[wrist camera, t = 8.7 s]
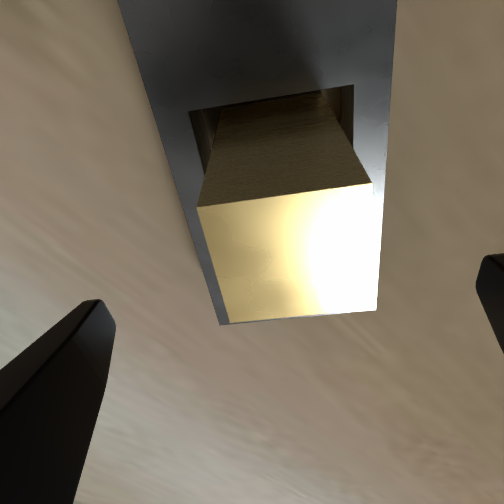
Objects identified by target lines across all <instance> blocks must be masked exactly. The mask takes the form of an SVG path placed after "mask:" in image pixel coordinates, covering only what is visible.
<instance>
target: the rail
mask: <svg viewBox="0 0 504 504" xmlns="http://www.w3.org/2000/svg"><path fill="white" fill-rule="evenodd" d="M118 3H119V6H120V9H121V12H122V16H123V19H124V22H125V25H126V28H127V31H128V35H129V38H130V41H131V44H132V47H133V51H134V54H135V57H136V60H137V63H138V66H139V70H140V73H141V76H142V79H143V82H144V86H145V89H146V92H147V95H148V98H149V102H150V105H151V108H152V111H153V114H154V117H155V121H156V124H157V127H158V130H159V133H160V137H161V140H162V143H163V146H164V149H165V152H166V156H167V159H168V162H169V165H170V168H171V172H172V175H173V178H174V181H175V184H176V188H177V191H178V194H179V197H180V200H181V203H182V207H183V210H184V213H185V216H186V219H187V223H188V226H189V229H190V232H191V235H192V238H193V242H194V245H195V248H196V251H197V254H198V258H199V261H200V264H201V267H202V270H203V274H204V277H205V280H206V283H207V286H208V289H209V293H210V296H211V299H212V302H213V305H214V309H215V312H216V315H217V318H218V321H219V324H220V325H228V324H238V323H249V322H259V321H269V320H279V319H289V318H299V317H309V316H319V315H329V314H339V313H349V312H359V311H370V310H376V303H377V289H378V274H379V259H380V245H381V230H382V215H383V201H384V186H385V171H386V156H387V142H388V127H389V112H390V98H391V83H392V68H393V54H394V39H395V24H396V10H397V0H118ZM339 86H340V107H341V128H342V130H343V131H344V133H345V135H346V137H347V139H348V140H349V142H350V144H351V146H352V147H353V149H354V151H355V153H356V155H357V156H358V158H359V160H360V162H361V163H362V165H363V167H364V169H365V171H366V172H367V174H368V176H369V178H370V179H371V181H372V183H373V184H372V208H371V232H370V256H369V280H368V304H367V309H363V310H353V311H344V312H334V313H324V314H314V315H305V316H295V317H285V318H275V319H265V320H256V321H246V322H236V323H230V321H229V317H228V314H227V310H226V307H225V304H224V300H223V297H222V293H221V290H220V287H219V283H218V280H217V276H216V273H215V270H214V266H213V263H212V259H211V256H210V252H209V249H208V246H207V242H206V239H205V235H204V232H203V229H202V225H201V222H200V218H199V215H198V212H197V208H196V207H197V203H198V199H199V196H200V192H201V188H202V184H203V181H204V177H205V173H206V169H207V166H208V162H209V158H210V154H211V148H210V144H209V140H208V135H207V131H206V127H205V123H204V118H203V114H202V110H201V109H205V108H211V107H217V106H223V105H229V104H235V103H242V102H248V101H254V100H260V99H266V98H272V97H278V96H284V95H290V94H297V93H303V92H309V91H315V90H321V89H327V88H333V87H339Z"/></svg>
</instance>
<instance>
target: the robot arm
mask: <svg viewBox="0 0 504 504" xmlns="http://www.w3.org/2000/svg"><path fill="white" fill-rule="evenodd" d="M476 291H477V294H478V296H479V299H480V301H481V303H482V306H483V308H484V310H485V312H486V315H487V317H488V319H489V322H490V324H491V326H492V329H493V331H494V333H495V336H496V338H497V340H498V343H499V345H500V347H501V349H502V351H503V353H504V253H501V254H492V255H487V256H485V257H484V258H483V260H482V262H481V266H480V269H479V273H478V276H477V280H476ZM115 332H116V325H115V321H114V319H113V317H112V315H111V314H110V312H109V310H108V308H107V307H106V305H105V303H104V302H103V301H102V300H100V299H95V300H87V301H84V302H82V303H81V304H80V305H78V306H77V307H76V308H75V309H74V310H72V311H71V312H70V313H69V314H67V315H66V316H65V317H64V318H63V319H61V320H60V321H59V322H58V323H57V324H55V325H54V326H53V327H52V328H50V329H49V330H48V331H47V332H46V333H44V334H43V335H42V336H41V337H40V338H38V339H37V340H36V341H35V342H34V343H32V344H31V345H30V346H29V347H27V348H26V349H25V350H24V351H23V352H21V353H20V354H19V355H18V356H17V357H15V358H14V359H13V360H12V361H10V362H9V363H8V364H7V365H6V366H4V367H3V368H2V369H1V370H0V504H73V502H74V498H75V494H76V491H77V487H78V484H79V480H80V477H81V473H82V470H83V466H84V463H85V459H86V456H87V452H88V449H89V445H90V442H91V438H92V435H93V431H94V427H95V424H96V420H97V417H98V413H99V410H100V406H101V403H102V399H103V396H104V392H105V388H106V383H107V379H108V373H109V367H110V361H111V355H112V349H113V343H114V338H115Z"/></svg>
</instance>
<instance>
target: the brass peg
mask: <svg viewBox="0 0 504 504" xmlns="http://www.w3.org/2000/svg"><path fill="white" fill-rule="evenodd" d="M372 184H373V183H372V181H371V179H370V178H369V176H368V174H367V172H366V171H365V169H364V167H363V165H362V163H361V162H360V160H359V158H358V156H357V155H356V153H355V151H354V149H353V147H352V146H351V144H350V142H349V140H348V139H347V137H346V135H345V133H344V131H343V130H342V128H341V126H340V124H339V123H338V121H337V119H336V117H335V115H334V114H333V112H332V110H331V108H330V107H329V105H328V103H327V101H326V99H325V98H324V96H323V94H322V92H318V93H312V94H306V95H300V96H294V97H289V98H283V99H277V100H271V101H265V102H259V103H253V104H247V105H241V106H235V107H229V108H223V109H222V113H221V117H220V121H219V124H218V128H217V132H216V136H215V139H214V143H213V147H212V151H211V154H210V158H209V162H208V166H207V169H206V173H205V177H204V181H203V184H202V188H201V192H200V196H199V199H198V203H197V207H196V208H197V212H198V215H199V218H200V222H201V225H202V229H203V232H204V235H205V239H206V242H207V246H208V249H209V252H210V256H211V259H212V263H213V266H214V270H215V273H216V276H217V280H218V283H219V287H220V290H221V293H222V297H223V300H224V304H225V307H226V310H227V314H228V317H229V321H230V323H236V322H246V321H256V320H265V319H275V318H285V317H295V316H305V315H314V314H324V313H334V312H344V311H353V310H363V309H367V304H368V280H369V256H370V232H371V208H372Z"/></svg>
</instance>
